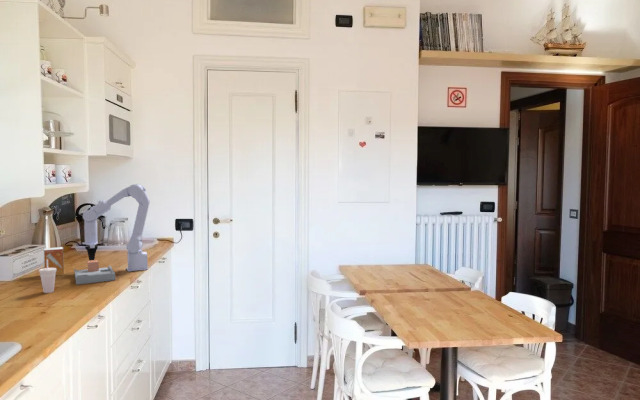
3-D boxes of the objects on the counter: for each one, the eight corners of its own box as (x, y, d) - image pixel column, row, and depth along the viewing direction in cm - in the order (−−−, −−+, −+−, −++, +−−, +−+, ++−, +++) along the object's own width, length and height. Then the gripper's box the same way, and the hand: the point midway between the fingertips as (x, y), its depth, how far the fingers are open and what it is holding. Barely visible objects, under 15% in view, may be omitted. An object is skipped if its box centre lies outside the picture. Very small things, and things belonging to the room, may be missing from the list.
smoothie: (38, 294, 182) (37, 261, 181) (40, 290, 188) (39, 258, 187) (57, 292, 185) (55, 259, 184) (57, 289, 191) (56, 257, 190)
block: (97, 268, 220) (97, 260, 220) (98, 270, 216) (98, 261, 216) (87, 270, 218) (87, 261, 218) (88, 271, 214) (88, 262, 214)
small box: (44, 277, 212) (43, 250, 211) (44, 274, 217) (43, 248, 216) (64, 274, 216) (63, 248, 215) (63, 272, 221) (62, 246, 220)
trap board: (110, 270, 225) (110, 264, 225) (115, 280, 206) (115, 273, 206) (74, 274, 217) (74, 267, 216) (76, 284, 198) (76, 277, 197)
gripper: (81, 232, 226) (82, 258, 227) (82, 235, 214) (83, 263, 215) (96, 231, 230) (97, 257, 231) (98, 234, 218) (99, 262, 219)
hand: (91, 260), depth 223 cm, fingers closed
